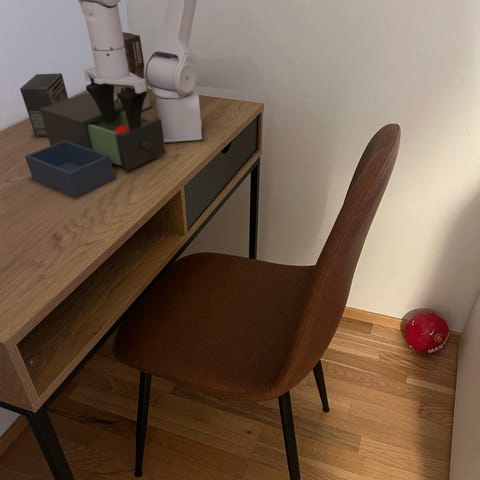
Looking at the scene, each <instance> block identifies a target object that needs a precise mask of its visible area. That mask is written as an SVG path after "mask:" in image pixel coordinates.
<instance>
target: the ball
mask: <svg viewBox="0 0 480 480" xmlns="http://www.w3.org/2000/svg"><path fill="white" fill-rule="evenodd" d="M129 129H130V128H129V126H126V125H122V126H119V127H117V128H116V129H115V130H114V131H115V132H117V134H120V133H122V132H125V131H127V130H129Z"/></svg>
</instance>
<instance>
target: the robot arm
mask: <svg viewBox="0 0 480 480" xmlns="http://www.w3.org/2000/svg"><path fill="white" fill-rule="evenodd" d="M77 1H78V3H79V5H80V8H81V13H82V14H83V15H84V17H85V22H86V28H87V32H88V33H87V34H88V37H89V43H90V46H91V52H92V56H93V61H94V66H95V67H93V66H91V67H87V68H84V69H83V74H84V78H85V81H87V82H90V84H87V85H85V89H86V92H87V93H88V94H90V95H91V96H92V97H93V99H94V100H95V102H96V104H97V106H98V107H99V109H100V112H101V114H102V116H103V118H104V120H105V122H106V123H110V122H113V121H115V120H116V114H115V107H114V86H117V87H121V88H125V90H126V91H123V92H120V93H118V94H117V97H118V98H119V100H120V102H121V104H122V106H123V108H124V111H125V114H126V118H127V122H128V126H129V128H130V129H132V128H134V127H137V126H139V125H140V124H141V116H142V114H143V113H142V112H143V110H142V107H143V103H144V100H145V97H146V95H147V89H146V83H147V86H148V88H150V89H151V93H152V94H154V99H155V107H156V115H157V118H159V119H161V123H162V130H163V138H164V144H165V143H176V142H178V143H179V142H188V141H189V142H191V141H192V142H193V141H201V140H203V135H202V134H203V133H202V128H203V119H202V118H201V107H200V98H199V97H200V95H199V92H198V91H193V90H194V87H195V86H196V81H197V73H196V72H197V71H196V65H197V61H198V59H197V57H196V55H195V54H194V52H193V51H192V49H191V47H190V46H189V43H190V38H191V33H192V28H193V22H194V18H195V13H196V8H197V1H198V0H167V6H166V10H165V16H164V21H163V28H162V33H161V37H160V38H159V39H158V40H156V42H154V44H152V45H151V47H150V50H149V54H148V57H147V58H146V61H144V78H145V79H142V78H139V77H137V76H136V75H134V74H132V73H131V72H129V70H128V63H127V57H126V51H125V45H124V39H123V33H122V32H123V29H122V22H121V16H120V15H121V14H120V8H119V3H120V2H121V1H122V0H77ZM145 81H146V82H145Z"/></svg>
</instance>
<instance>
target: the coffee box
mask: <svg viewBox="0 0 480 480" xmlns="http://www.w3.org/2000/svg"><path fill="white" fill-rule="evenodd" d="M122 33H123V39H124V45H125V51H126V57H127V63H128V70H129V72H131V73H132V74H134V75H136V76H137V77H139V78H142V79H145V78H144V65H145V60H144V55H143V53H144V52H143V47H142V41H141V35H139V34H134V33H130V32H126V31H125V32H124V31H122ZM145 82H146V81H145ZM146 89H147V95H146V97H145V100H144V103H143V107H142V111H143V110H146V109H148V108H150V107H151V101H150V100H151V99H150V94H149V86H148V85H147V83H146ZM123 91H126V90H125V88H121V87H117V86H114V101H117V102H120V100H119V98H118V97H117V94H118V93H120V92H123Z"/></svg>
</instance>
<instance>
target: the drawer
mask: <svg viewBox="0 0 480 480" xmlns="http://www.w3.org/2000/svg"><path fill="white" fill-rule="evenodd" d="M115 114H116V120H115V121H113V122H110V123H106V122H105V120H104V118H101V119H99V120H96V121H94V122H91V123H88V124H86V127H87V131H88V136H89V140H90V144H91V148H92V150H95V151H98V152H101V153H104V154H106V155H109V156H110V159H111V163H112V164H114V165H116V166H120V167H121V168H122V170H123V171H125V172H128V171H131V170H132V169H135V168H136V167H138V166H141V165H143V164H145V163H147V162H149V161H151V160H153V159H155V158H157V157H159V156H161V155H163V154H165V153H166V147H165V143H164V138H163V130H162V123H161V119H159V118H158V117H156V118H153V119H151V117H147V116H143V115H141V124H140V125H139V126H137V127H134V128H132V129H129V130H127V131H125V132H122V133H120V134H117V132H115V131H114V130H115V129H116V128H117V127H119V126H122V125H126V126H128V122H127V118H126V114H125V111H119V112H117V113H115Z"/></svg>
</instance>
